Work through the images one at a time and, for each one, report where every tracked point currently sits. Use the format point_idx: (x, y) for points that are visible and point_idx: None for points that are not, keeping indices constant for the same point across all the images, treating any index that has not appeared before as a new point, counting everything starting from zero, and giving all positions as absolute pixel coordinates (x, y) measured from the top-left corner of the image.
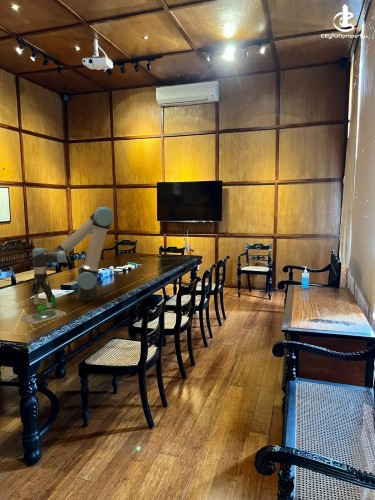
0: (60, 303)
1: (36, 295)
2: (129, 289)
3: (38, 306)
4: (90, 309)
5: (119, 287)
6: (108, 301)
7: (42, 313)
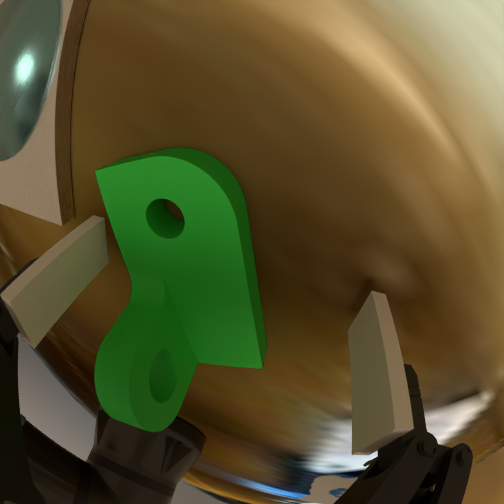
0: (194, 374)
1: (372, 423)
2: None
3: (219, 210)
4: None
5: None
6: (60, 378)
7: (14, 72)
